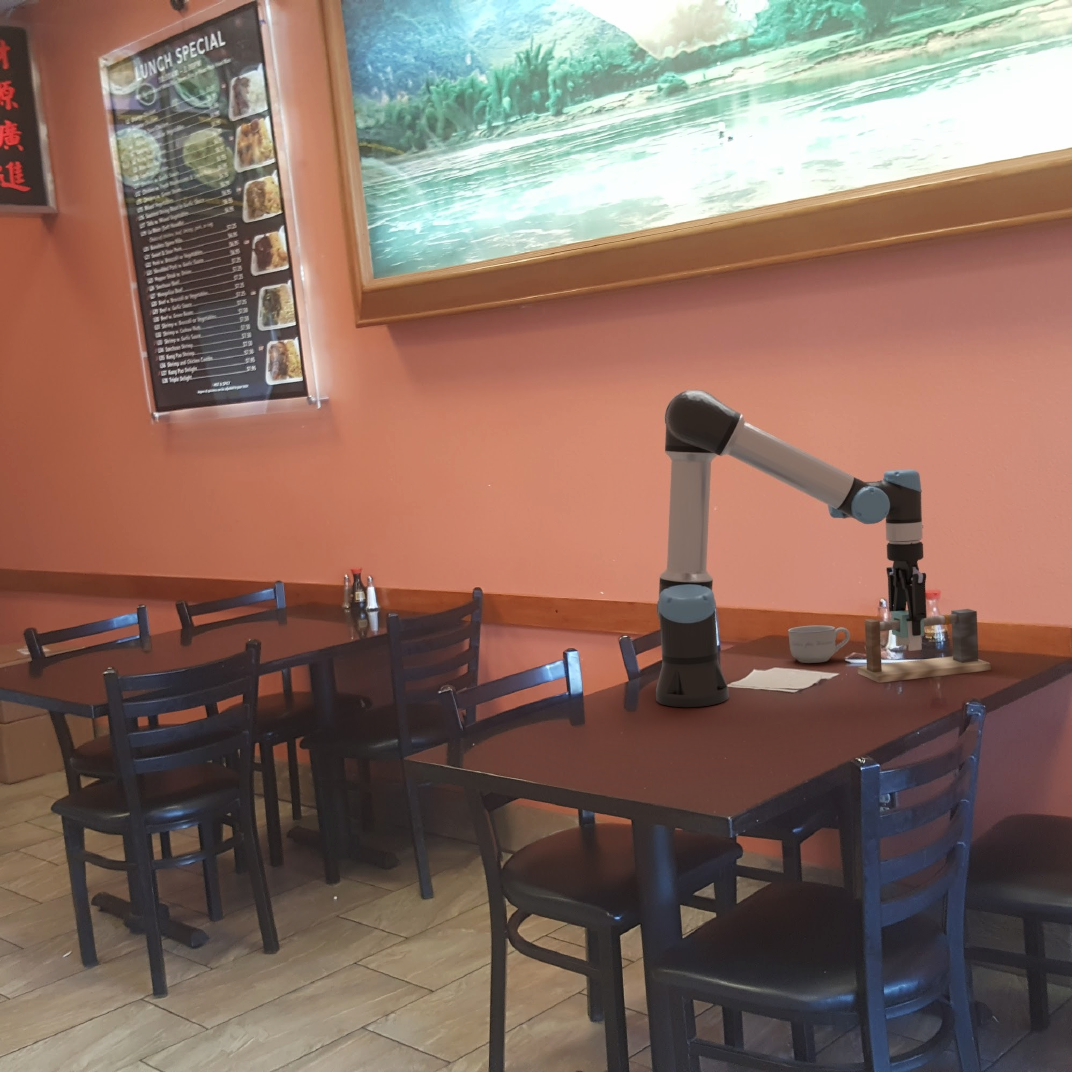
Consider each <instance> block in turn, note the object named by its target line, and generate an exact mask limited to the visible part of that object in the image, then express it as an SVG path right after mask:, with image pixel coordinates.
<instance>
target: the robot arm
mask: <svg viewBox="0 0 1072 1072" xmlns="http://www.w3.org/2000/svg"><path fill="white" fill-rule="evenodd" d="M665 409H666V410H665V413H664V423H665V442H664V443H665V444H664V445H665V446H664V453H665V454H666V455H667V457H668V458H670V460H671V465H670V470H671V471H670V485H669V486H670V488H669V490H670V492H669V493H670V494H669V514H668V515H669V516H668V532H667V533H668V534H667V535H668V539H667V558H666V559H667V561H666V568H665V570H664V571H663V572H662V573H661V574H659V588H658V589H659V590H658V601H657V603H656V613H657V616H658V617H657V618H658V620H659V627H660V629H659V630H660V644H661V659H662V660H661V662H662V664H661V669H660V672H659V677H658V680H657V684H656V688H655V699H656V702H657V703H658V704H660V705H664V706H668V707H675V708H697V707H698V708H699V707H708V706H714V705H718V704H721V703H724V702H726V701H728V699H729V697H730V696H729V686H728V683H727V680H726V678H725V676H724V674H723V673H724V672H723V671H722V669H721V666H720V663H719V655H718V639H717V638H718V634H717V619H716V617H717V615H716V607H717V604H716V603H717V602H716V600H715V594H714V591H713V581H714V578H713V576H712V575H711V574H710V573H708V571H707V561H708V537H709V516H710V514H709V513H710V496H711V476H712V474H711V472H712V461H713V460H714V459H715V458H716V457H717V456H720V457H722V456H726V455H728V456H730V457H732V458H734V459H736V460H738V461H740V462H742V463H744V464H746V465H748V466H750V467H752V468H754V469H756V470H759V472H762V473H764V474H766V475H768V476H770V477H772V478H774V479H776V480H778V481H780V482H782V483H783V484H786V485H788V486H790V487H792V488H794V489H796V490H798V491H800V492H802V493H803V494H806V495H808V496H810V497H811V498H813V499H816V500H817V501H820V502H822V503H823V504H826V505H827V508H828V513H829V515H830V517H831V518H833V519H845V520H846V519H848V518H849V519H851V518H853V519H855V520H857V521H858V522H859V523H862V524H864V525H874V524H879V522H882V521H883V520H884V519H885V537H886V538H885V540H886V541H887V542H888V543H887V544H886V558H887V561H891V562H893V563H892V566H889V567H886V575H887V588H888V589H887V591H888V611H889V612H890V613H891V612H894V611H903V610H908V613H909V618H908V619H906V620H907V627H908V638H901V637H898V636H896V635H894V637H895V646H896V647H902V646H903V647H904V646H907V647H908V649H907V651H909V652H911V651H912V652H914V651H921V650H922V649H923V648H922V645H923V644H922V636H921V620H922V619H924V618H926V617H928V616H927V596H926V595H927V593H926V579H927V574H926V572H921V571H920V568H919V566H918V564H919V563H918V561H920V560H923V559H924V543H923V542H922V541H921V540H923V529H924V525H923V520H922V519H923V518H922V513H923V512H922V493H923V492H922V485H921V484H922V483H921V475H920V473H919V471H917V470H915V469H896V470H895V469H894V470H887V471H885V472H884V474H883V478H882V479H883V480H877V481H863V480H861V479H860V478H857V477H854V475H852V474H849V473H848V472H846V471H844V470H841V469H840V468H838V467H836V466H834V465H832V464H829V463H828V462H826V461H824V460H822V459H820V458H818V457H816V456H814V455H812V454H810V453H808V452H806V451H804V450H802V449H800V448H798V447H796V446H794V445H792V444H790V443H788V442H787V441H784V440H782V439H780V438H778V437H776V436H775V435H773V434H771V433H768V432H767V431H765V430H762V429H760V428H759V427H756V426H755V425H753V424H751V423H749V422H747V421H745V419H744V415H743V414H742V413H740V412H738V411H736V410H735V409H732V408H731V407H730V406H728V405H726V404H725V403H723V402H722V401H720V400H719V399H717V398H716V397H715V396H714V395H712V394H711V393H710V392H708V391H705V390H699V389H690V390H685V391H682V392H680V393H678V394H677V395H675V396H674V397H673V398H672V399H671V400H670V402H669V403H668V405H667V407H666V408H665Z"/></svg>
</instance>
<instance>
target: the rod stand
mask: <svg viewBox="0 0 1072 1072" xmlns="http://www.w3.org/2000/svg"><path fill="white" fill-rule="evenodd" d="M950 613H951V614H942V615H935V616H933V615H932V616H927V617H926V618H924V628H925V627H932V626H947V625H951V637H952V639H951V640H952V641H951V642H952V643H951V644H952V656H944V657H943V656H942V657H934V658H926V659H915V660H908V661H899V662H890V663H882V647H881V646H882V645H881V644H882V643H881V632H886V631H892V630H897V629H900V620H894V621H891V620H887V621H880V620H877V619H874V618H872V619H871V618H869V619H865V620H864V632H865V633H864V634H865V636H864V637H865V653H866V654H865V658H866V665H862V666H861V665H860V666H857V674H858V675H860V676H863V677H865V678H866V679H869V680H871V681H874V682H876V683H889V682H896V681H897V682H898V681H906V680H914V679H915V680H916V679H922V678H923V679H924V678H925V679H926V678H932V677H942V676H951V675H960V674H968V673H977V672H984V671H986V672H987V671H991V670H992V668H991V667H992V666H991V665H992V664H991V662H988V661H985V660H983V659H980V658H979V643H978V642H979V639H978V637H979V636H978V612H977V610H974V609H970V608H966V609H965V608H964V609H956V610H955V609H954V610H951V612H950Z"/></svg>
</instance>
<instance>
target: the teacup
mask: <svg viewBox="0 0 1072 1072" xmlns="http://www.w3.org/2000/svg"><path fill="white" fill-rule="evenodd" d="M787 632H788V639H789V640H788V641H789V650H790V654H791V656H792V657H794V659H796V660H797V661H798V662H799V663H804V664H811V663H812V664H813V663H814V664H816V663H817V664H818V663H825V662H828V661H829V660H830V658H831V657H833V655H834V654H835V653H837V652H838V651H839V650H840V649H841V648H842V647H845V645H847V644H848V642H849V641H850V637H851V634H850V631H849V630H848V629H847V628H846V627H838V628H836V627H835V626H831V625H806V626H805V625H803V626H797V627H792V628H788V630H787ZM841 632H843V633H844V634H845V636H844V637H845V638H844V639H843V640H842V641H841V642H840V643H838V644H836V639H837V637H838V634H839V633H841Z"/></svg>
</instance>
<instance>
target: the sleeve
mask: <svg viewBox="0 0 1072 1072" xmlns="http://www.w3.org/2000/svg"><path fill="white" fill-rule="evenodd" d="M890 617H891V618H890V619H891V620H890V621H894V620H900V629H897V630H891V635H893V636H895V635H896V636H898V637H901V638H908V627H907V620H906V619H908V618H909V613H908V609H906V610H903V611H894V612H890ZM896 636H895V637H896ZM921 637H925V627H924V619H922V620H921Z"/></svg>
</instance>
